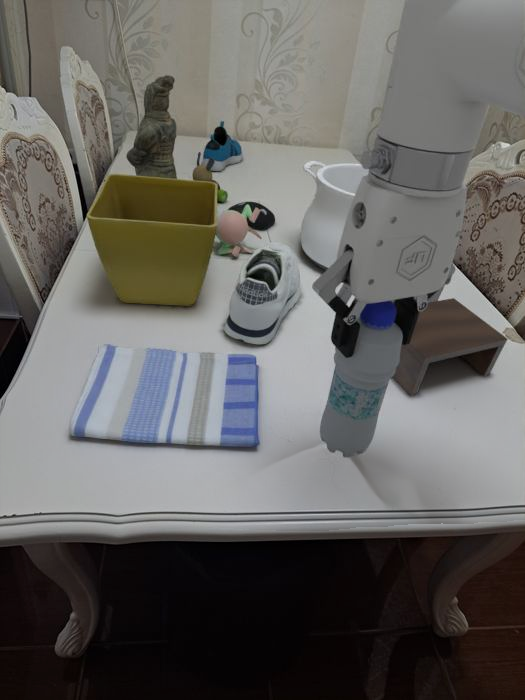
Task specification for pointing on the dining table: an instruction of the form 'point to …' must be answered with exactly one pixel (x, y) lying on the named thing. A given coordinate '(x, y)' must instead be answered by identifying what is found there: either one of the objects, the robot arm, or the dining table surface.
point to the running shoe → (263, 294)
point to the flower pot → (155, 236)
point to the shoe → (222, 149)
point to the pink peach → (235, 229)
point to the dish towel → (169, 398)
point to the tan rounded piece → (208, 177)
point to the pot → (329, 210)
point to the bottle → (362, 381)
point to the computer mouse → (264, 217)
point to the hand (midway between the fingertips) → (370, 342)
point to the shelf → (447, 342)
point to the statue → (155, 133)
